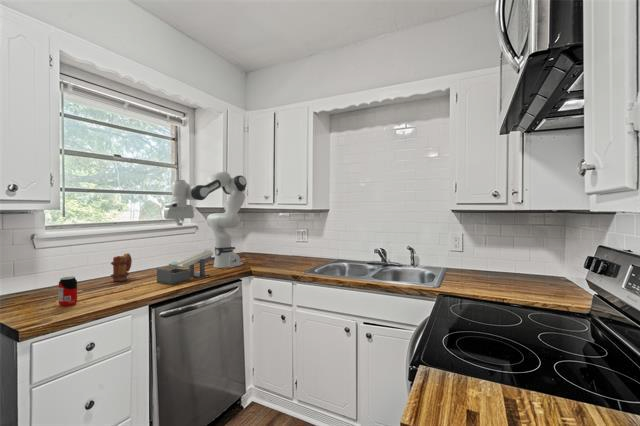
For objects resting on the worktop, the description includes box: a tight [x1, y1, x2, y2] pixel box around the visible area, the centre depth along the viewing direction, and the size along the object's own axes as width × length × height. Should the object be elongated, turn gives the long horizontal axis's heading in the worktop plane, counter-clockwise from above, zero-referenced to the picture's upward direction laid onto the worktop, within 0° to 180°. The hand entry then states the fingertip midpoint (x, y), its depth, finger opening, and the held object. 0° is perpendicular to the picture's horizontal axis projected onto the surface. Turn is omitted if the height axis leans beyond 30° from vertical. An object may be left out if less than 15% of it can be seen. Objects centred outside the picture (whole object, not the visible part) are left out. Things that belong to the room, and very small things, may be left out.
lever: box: [168, 249, 214, 269], centre depth 197 cm, size 22×16×6 cm
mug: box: [110, 253, 133, 282], centre depth 187 cm, size 15×8×15 cm, turn 179°
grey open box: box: [156, 267, 191, 286], centre depth 182 cm, size 13×13×8 cm
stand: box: [188, 259, 211, 279], centre depth 196 cm, size 8×14×11 cm, turn 60°
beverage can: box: [58, 276, 78, 307], centre depth 138 cm, size 6×6×12 cm
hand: (179, 225), depth 207 cm, fingers closed
